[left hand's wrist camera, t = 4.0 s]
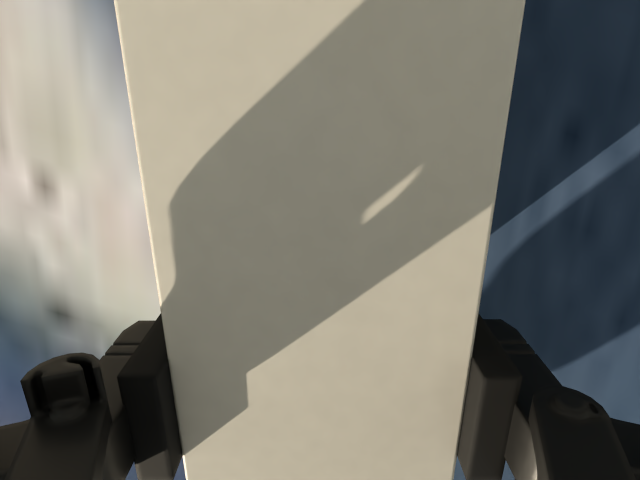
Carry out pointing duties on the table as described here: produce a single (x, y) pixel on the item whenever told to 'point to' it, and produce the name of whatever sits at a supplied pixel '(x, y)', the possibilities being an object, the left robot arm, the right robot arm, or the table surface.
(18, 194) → the table surface
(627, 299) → the table surface
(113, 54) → the table surface
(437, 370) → the cabinet
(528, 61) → the table surface
